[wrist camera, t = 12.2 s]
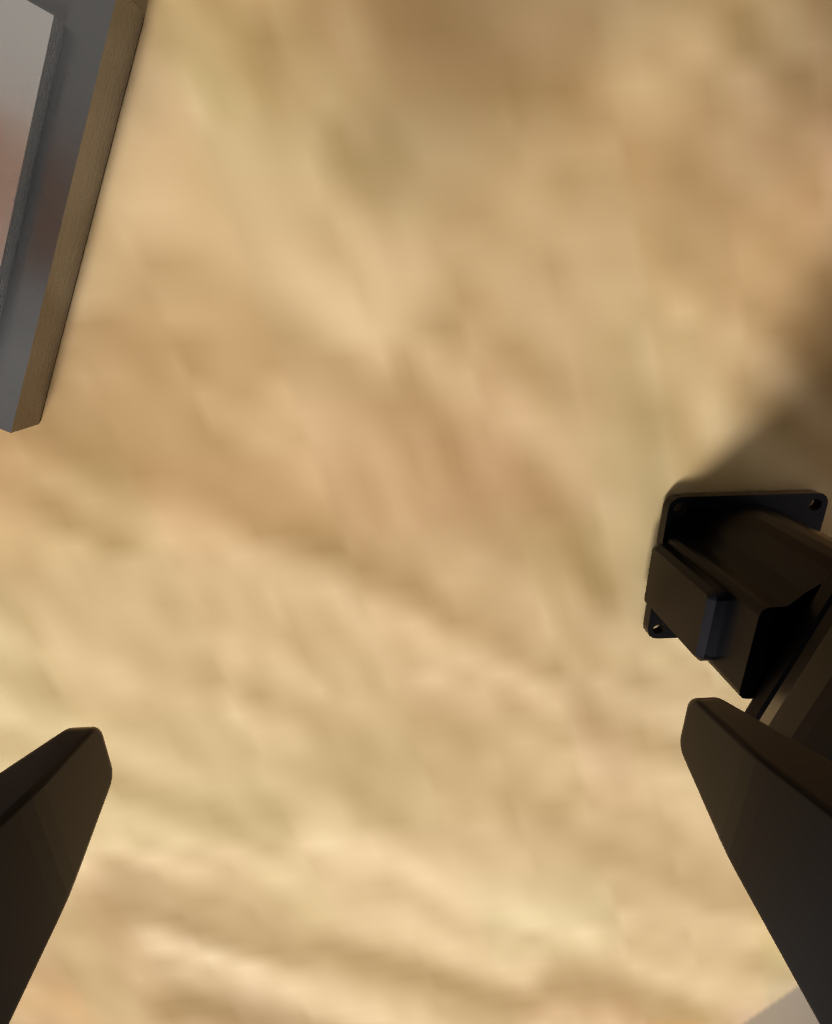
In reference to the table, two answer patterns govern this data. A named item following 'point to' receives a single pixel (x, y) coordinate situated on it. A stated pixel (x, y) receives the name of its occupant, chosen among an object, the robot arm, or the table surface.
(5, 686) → the table surface
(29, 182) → the arbor press
